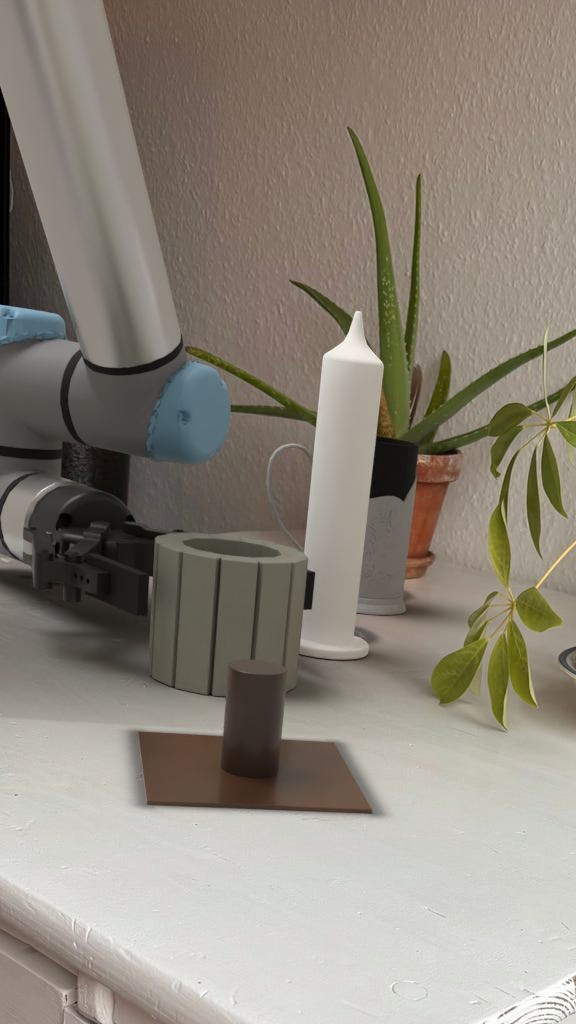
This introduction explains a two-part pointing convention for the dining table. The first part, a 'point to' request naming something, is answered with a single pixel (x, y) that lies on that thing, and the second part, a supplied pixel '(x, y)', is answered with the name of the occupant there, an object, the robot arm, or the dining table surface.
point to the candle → (341, 494)
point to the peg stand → (249, 756)
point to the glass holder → (379, 524)
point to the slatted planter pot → (223, 608)
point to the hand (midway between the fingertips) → (231, 593)
